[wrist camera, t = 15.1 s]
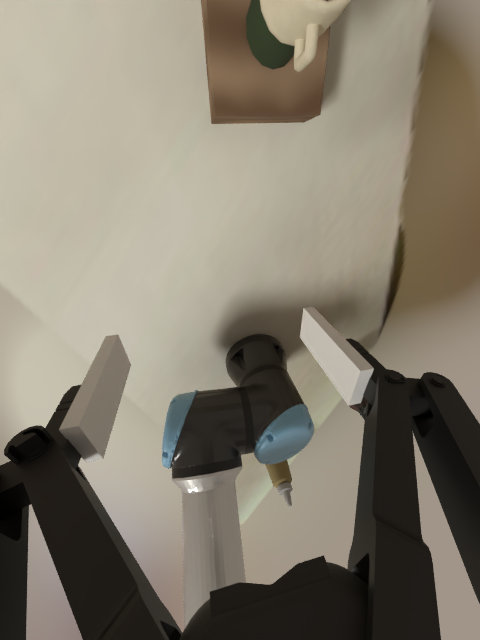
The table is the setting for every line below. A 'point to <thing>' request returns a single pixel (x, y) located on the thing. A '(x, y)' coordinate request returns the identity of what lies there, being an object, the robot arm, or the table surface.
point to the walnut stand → (255, 73)
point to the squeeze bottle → (281, 479)
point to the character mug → (289, 29)
